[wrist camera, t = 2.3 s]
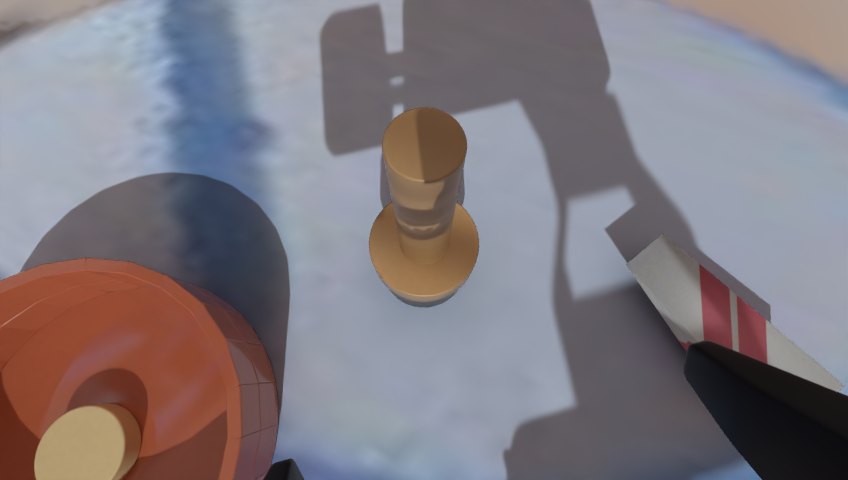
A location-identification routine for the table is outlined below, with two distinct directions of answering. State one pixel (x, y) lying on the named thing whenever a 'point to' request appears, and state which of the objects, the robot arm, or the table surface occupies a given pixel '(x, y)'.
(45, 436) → the biscuit piece
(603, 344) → the table surface
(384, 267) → the dish brush
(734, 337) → the paintbrush
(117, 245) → the table surface
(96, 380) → the terracotta bowl
